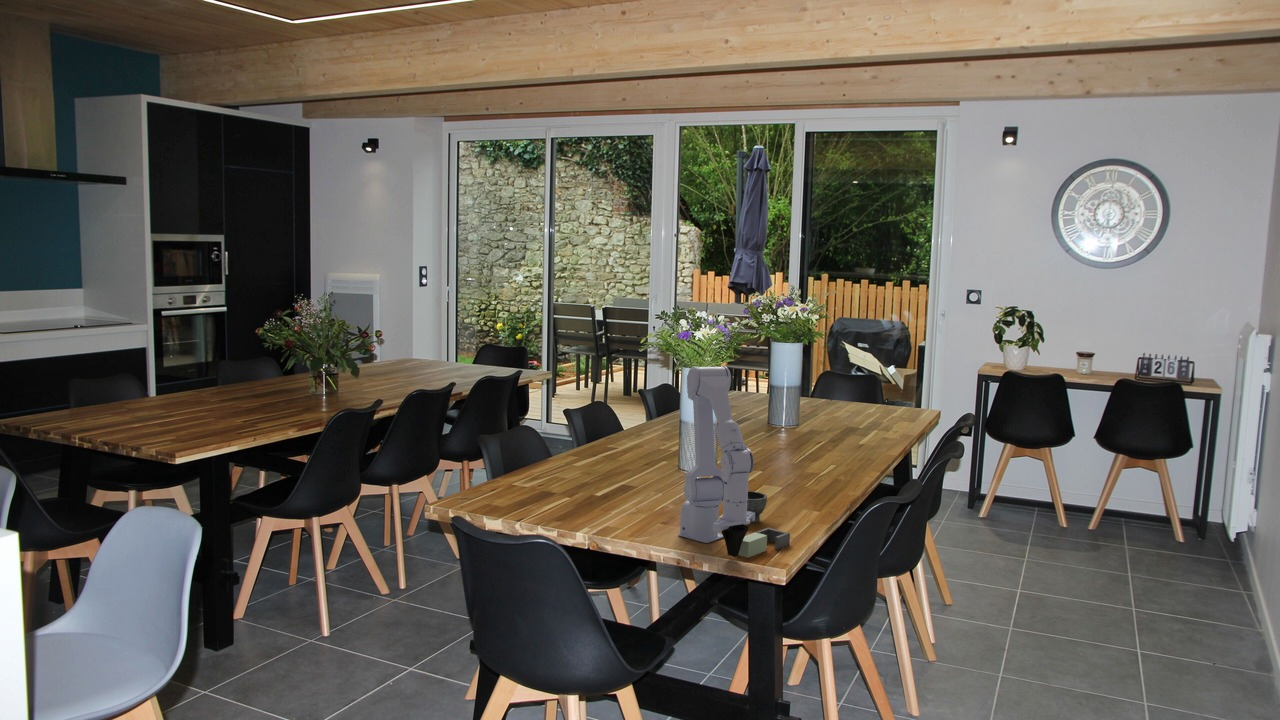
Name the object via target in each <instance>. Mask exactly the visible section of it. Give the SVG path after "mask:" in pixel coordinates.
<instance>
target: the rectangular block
mask: <svg viewBox="0 0 1280 720" xmlns="http://www.w3.org/2000/svg"><path fill="white" fill-rule="evenodd" d="M756 532H757V531H755V532H753V533H749V534H746V535H745V537H744V539H743V541H742V544H741V547H740V551H739V554H738V556H740V557H744V558H747V559H748V558H751V557H754V556H757V555H759V554H761V553H764V552H766V551H767V545H768V541H767V535H764V534H760V533H756Z"/></svg>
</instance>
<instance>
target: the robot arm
mask: <svg viewBox="0 0 1280 720" xmlns="http://www.w3.org/2000/svg"><path fill="white" fill-rule="evenodd" d="M731 385H732V375H731V371H730V369H729V368H728V367H727V366H726V365H722V366H694V365H693V366H691V368H690V369H688V372H687V375H686V389H687V390H686V393H687V399H689V400H691V401H692V404H693V406H692V407H693V427H694V428H693V430H694V451H695V452H694V453H695V455H694V456H695V458H694V459H695V465H694V466H692V467H691V469H689V470H688V471H687V472H686V473H685V479H684V480H685V481H684V486H683V493H684V497H685V500H686V501H684V503H683V504H682V505H681V508H680V519H679V520H680V521H679V522H680V523H679V533H677V536H679V537H683V538H687V539H689V540H692V541H693V540H694V541H696V542H700V543H704V544H709V543H711V542H715V541H718V540H720V539H724V543H725V546H726V547H725V548H726V552H727V555H728V556H730V557H734V558H735V557H739V555H738V554H739V551H740V547H741V544H742V541H743V539H744V537H745V536H747V534H748V532H749V530H750V527H749V526H748V525H749V524H751V523H750V521H755V513H753V512H749V511H748V512H747V500H748V491H749V474H751V473H752V472H753V471H754V465H755V461H754V460H755V459H754V455H753V451H752V450H751V449H750V448H749V446H748V445H747V444H745V441H744V438H743V437H744V436H743V434H742V431H741V426H740V425H739V423H738V422H737V421H734V420H733V414H732V409H731V403H730V398H729V392H730V388H731ZM714 416H715V418H716V421H717V424H718V426H717V427H716V430H715V432H716V436H717V439H718V444H719V447H720V451H721V456H720V459H719V461H720V468H721V469H720V468H719V467H718V466H717V465H716V453H715V433H714ZM722 502H723V503H722ZM720 505H722V516H721V517H720V516H719V514H720V513H719V512H720ZM719 517H720V518H719Z"/></svg>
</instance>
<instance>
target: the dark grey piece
mask: <svg viewBox="0 0 1280 720" xmlns="http://www.w3.org/2000/svg"><path fill="white" fill-rule="evenodd" d="M755 532H756V533H760V534H764V535H767V542H772V543H774V549H775V550H780V549H783V548H785V547H787V546H789V545H790V542H791V541H790V540H791V533H790V532H788V531H784V530H780V529H776V528H771V527H766V528H763V529H760V530H757V531H755Z"/></svg>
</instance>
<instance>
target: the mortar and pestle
mask: <svg viewBox="0 0 1280 720" xmlns="http://www.w3.org/2000/svg"><path fill="white" fill-rule="evenodd" d="M767 502H768V495H767V494H765V493H763V492H760V491H759V492H758V491H753V490H748V500H747V512H748V511H749V512H753V513H755V521H750V524H754V523H759V522H760V518H761V516H760V515H761V514H762V513H763V512H764V510H765V509H766V506H767Z"/></svg>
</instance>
